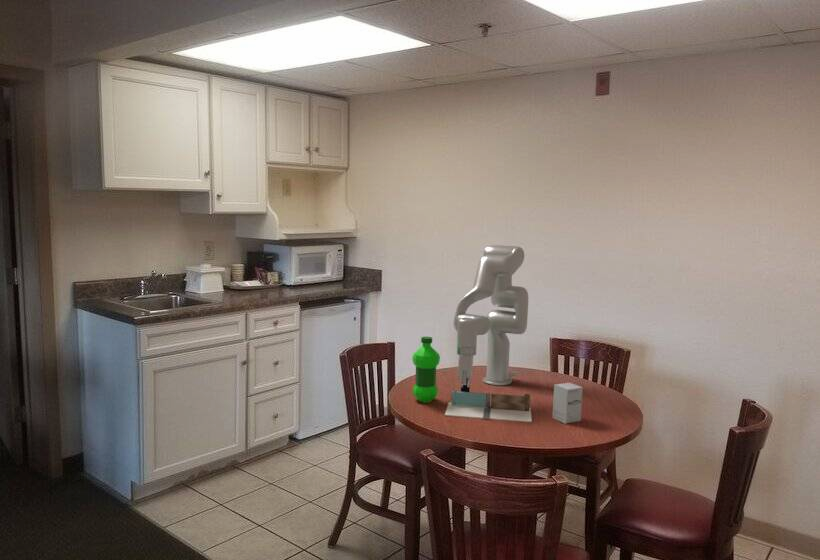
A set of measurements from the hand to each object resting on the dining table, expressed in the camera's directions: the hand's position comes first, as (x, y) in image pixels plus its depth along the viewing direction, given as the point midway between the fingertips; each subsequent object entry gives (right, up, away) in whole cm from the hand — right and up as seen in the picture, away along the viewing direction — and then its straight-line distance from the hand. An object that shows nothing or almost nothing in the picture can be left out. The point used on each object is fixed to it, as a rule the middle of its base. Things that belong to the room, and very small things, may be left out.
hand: (464, 396), depth 237 cm
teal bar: (+2, -2, -4) cm, 5 cm away
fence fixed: (+16, -3, -6) cm, 18 cm away
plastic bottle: (-15, -2, +3) cm, 16 cm away
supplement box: (+35, -6, -16) cm, 39 cm away
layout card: (+8, -4, -10) cm, 13 cm away
